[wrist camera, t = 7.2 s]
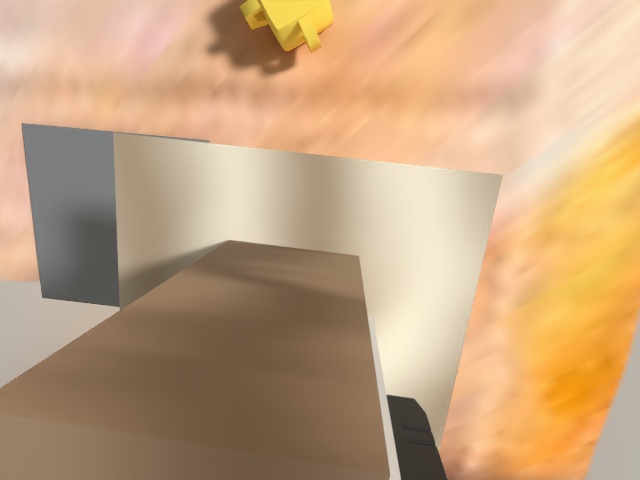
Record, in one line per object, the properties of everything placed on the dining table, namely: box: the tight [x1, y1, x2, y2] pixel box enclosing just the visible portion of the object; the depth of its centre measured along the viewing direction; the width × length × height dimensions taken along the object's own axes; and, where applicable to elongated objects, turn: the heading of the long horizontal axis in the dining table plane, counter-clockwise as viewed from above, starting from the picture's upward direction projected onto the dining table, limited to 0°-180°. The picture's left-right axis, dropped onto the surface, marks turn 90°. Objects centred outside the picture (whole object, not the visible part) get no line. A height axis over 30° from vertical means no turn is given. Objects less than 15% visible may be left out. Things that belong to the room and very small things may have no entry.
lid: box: [0, 133, 502, 480], centre depth 9 cm, size 14×14×10 cm
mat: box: [22, 123, 210, 307], centre depth 30 cm, size 16×16×1 cm
